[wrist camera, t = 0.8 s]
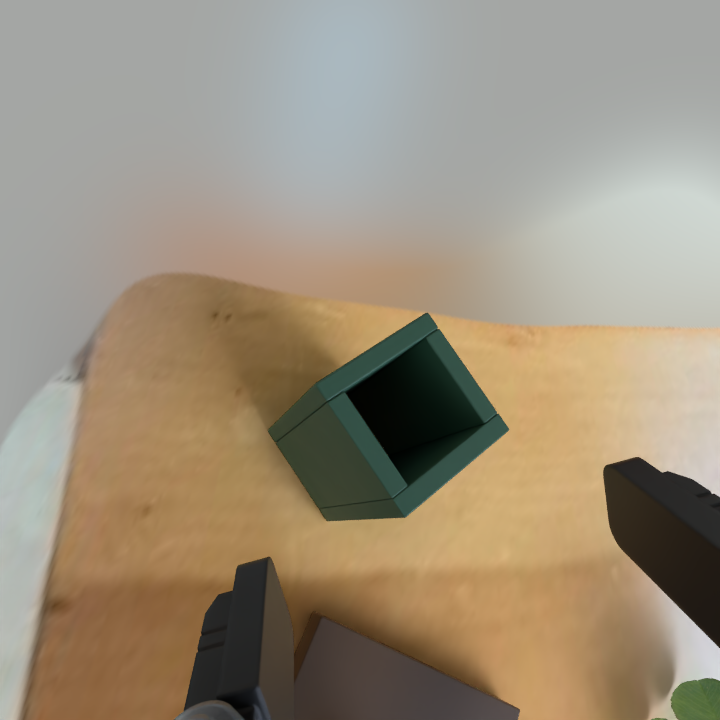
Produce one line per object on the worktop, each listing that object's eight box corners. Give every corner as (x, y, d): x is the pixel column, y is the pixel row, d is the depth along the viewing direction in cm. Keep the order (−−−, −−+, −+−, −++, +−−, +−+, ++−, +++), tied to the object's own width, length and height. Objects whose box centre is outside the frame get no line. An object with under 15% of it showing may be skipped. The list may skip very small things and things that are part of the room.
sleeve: (326, 521, 25) (405, 518, 17) (266, 430, 25) (314, 383, 17) (406, 459, 27) (510, 429, 19) (350, 376, 27) (428, 311, 19)
